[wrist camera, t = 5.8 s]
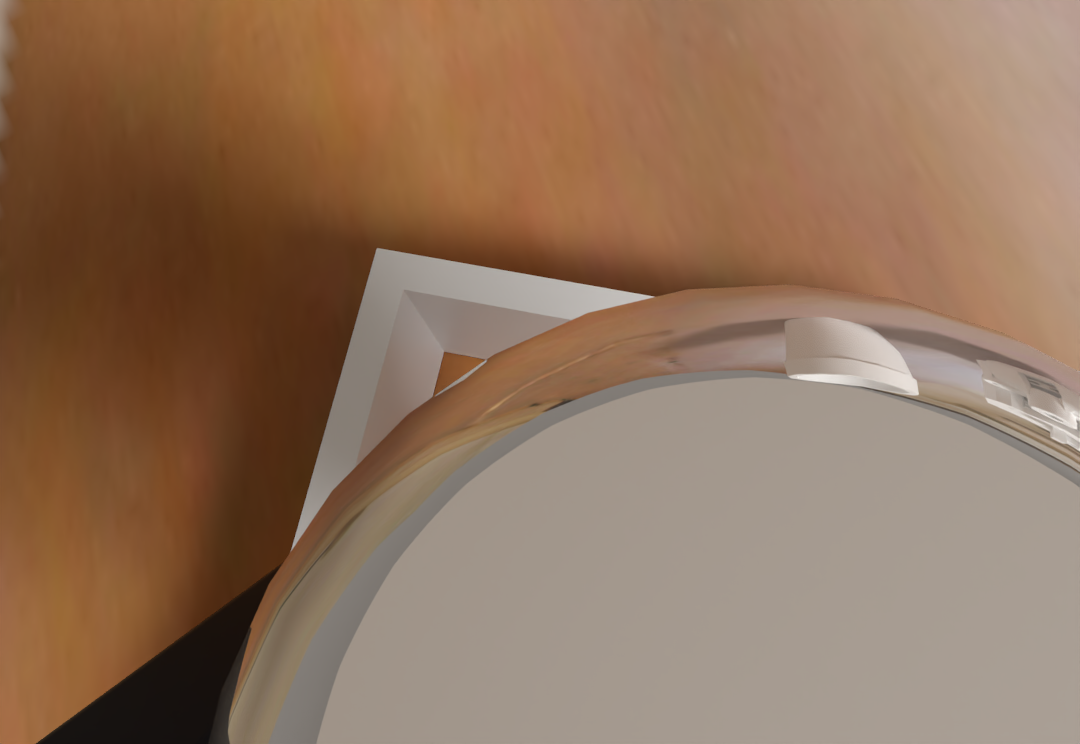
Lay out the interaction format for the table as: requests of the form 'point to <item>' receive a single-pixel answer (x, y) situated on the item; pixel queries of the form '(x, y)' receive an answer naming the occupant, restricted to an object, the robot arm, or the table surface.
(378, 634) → the light bulb
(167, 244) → the table surface
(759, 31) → the table surface
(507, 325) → the grey box
